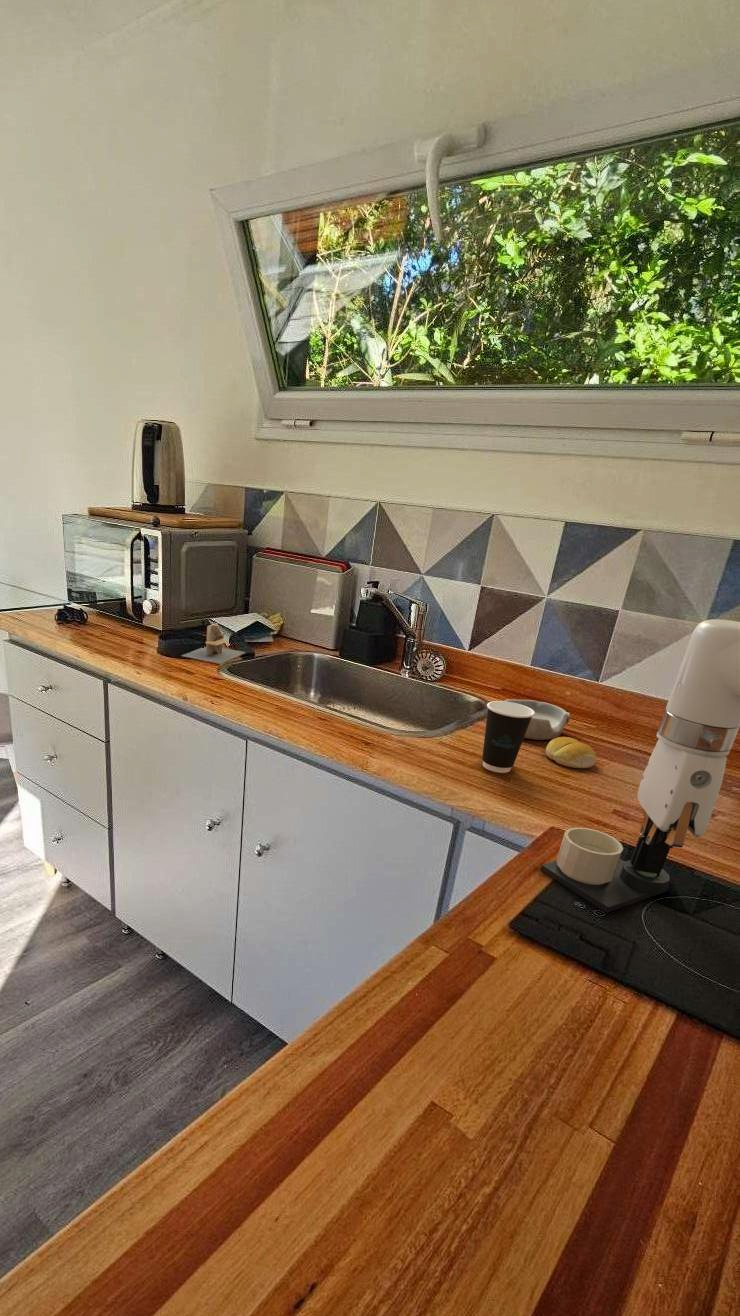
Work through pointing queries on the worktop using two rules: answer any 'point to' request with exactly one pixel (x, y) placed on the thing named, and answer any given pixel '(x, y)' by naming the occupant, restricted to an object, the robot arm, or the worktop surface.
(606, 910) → the scale
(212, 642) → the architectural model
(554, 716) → the dish
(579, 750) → the bread roll
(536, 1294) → the worktop surface
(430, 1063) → the worktop surface
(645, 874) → the button
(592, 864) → the bowl
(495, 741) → the dixie cup
